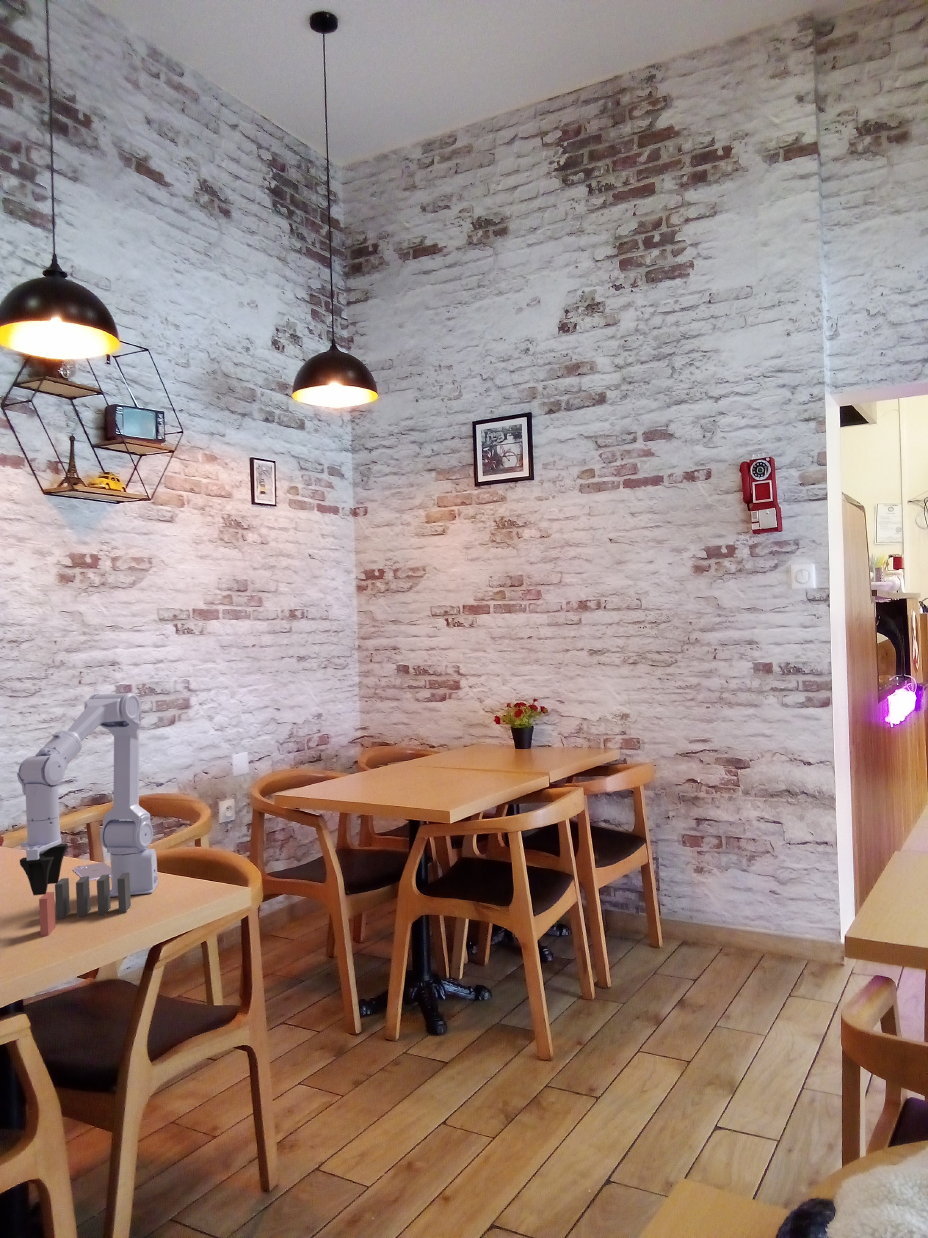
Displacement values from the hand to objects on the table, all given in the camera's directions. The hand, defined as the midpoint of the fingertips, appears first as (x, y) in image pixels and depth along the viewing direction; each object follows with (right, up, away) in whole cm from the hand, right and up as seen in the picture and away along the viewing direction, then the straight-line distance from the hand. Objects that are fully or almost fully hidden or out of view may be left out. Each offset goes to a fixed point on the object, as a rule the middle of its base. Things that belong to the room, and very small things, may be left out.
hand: (46, 889), depth 170 cm
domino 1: (-1, -9, +10) cm, 13 cm away
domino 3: (+7, -8, +11) cm, 15 cm away
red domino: (0, -8, 0) cm, 8 cm away
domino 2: (+3, -8, +11) cm, 14 cm away
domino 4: (+11, -8, +12) cm, 18 cm away
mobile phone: (-8, -10, +43) cm, 45 cm away
